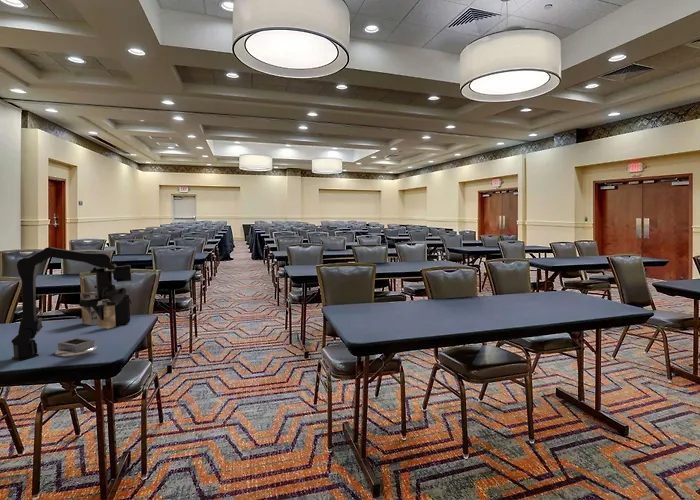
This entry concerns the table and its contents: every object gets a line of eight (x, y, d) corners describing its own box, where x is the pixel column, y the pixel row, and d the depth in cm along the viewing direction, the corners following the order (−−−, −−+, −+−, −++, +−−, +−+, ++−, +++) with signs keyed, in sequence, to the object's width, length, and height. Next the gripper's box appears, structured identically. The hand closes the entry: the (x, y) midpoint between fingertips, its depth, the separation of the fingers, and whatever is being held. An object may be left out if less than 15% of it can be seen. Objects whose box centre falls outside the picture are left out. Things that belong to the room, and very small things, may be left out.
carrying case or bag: (132, 322, 213) (130, 295, 212) (133, 323, 210) (131, 295, 209) (108, 326, 206) (106, 297, 205) (109, 327, 204) (107, 298, 203)
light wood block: (108, 328, 170) (106, 307, 169) (98, 327, 172) (97, 306, 171) (115, 326, 173) (114, 305, 172) (106, 325, 175) (104, 304, 174)
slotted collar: (70, 358, 160) (69, 349, 159) (47, 353, 165) (46, 344, 165) (104, 347, 173) (104, 338, 172) (82, 343, 178) (81, 335, 178)
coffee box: (104, 322, 213) (102, 292, 212) (91, 325, 207) (89, 294, 206) (93, 320, 217) (92, 291, 216) (81, 323, 212) (79, 293, 210)
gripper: (96, 287, 159) (98, 326, 160) (137, 280, 176) (139, 315, 178) (77, 285, 163) (79, 323, 165) (119, 279, 181) (121, 313, 182)
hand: (106, 319), depth 172 cm, fingers closed on light wood block, 3 cm apart
